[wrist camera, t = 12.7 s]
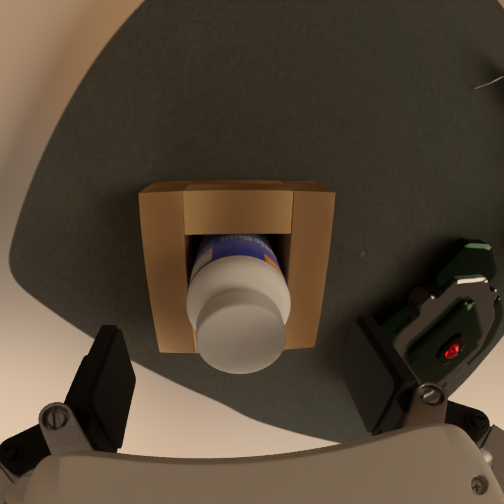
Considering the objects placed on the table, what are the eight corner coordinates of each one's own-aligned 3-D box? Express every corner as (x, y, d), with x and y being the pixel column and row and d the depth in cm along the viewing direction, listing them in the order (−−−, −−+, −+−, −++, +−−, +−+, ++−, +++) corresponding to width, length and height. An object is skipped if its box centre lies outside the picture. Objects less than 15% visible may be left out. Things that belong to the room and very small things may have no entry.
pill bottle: (285, 240, 21) (329, 316, 12) (249, 299, 23) (266, 395, 14) (217, 206, 20) (212, 265, 11) (184, 271, 21) (163, 362, 12)
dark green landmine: (467, 215, 22) (500, 231, 18) (495, 317, 28) (515, 335, 24) (328, 342, 25) (344, 376, 21) (395, 406, 31) (409, 430, 27)
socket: (167, 320, 23) (159, 352, 19) (153, 181, 19) (137, 192, 15) (302, 317, 24) (314, 347, 20) (315, 181, 20) (335, 192, 16)
